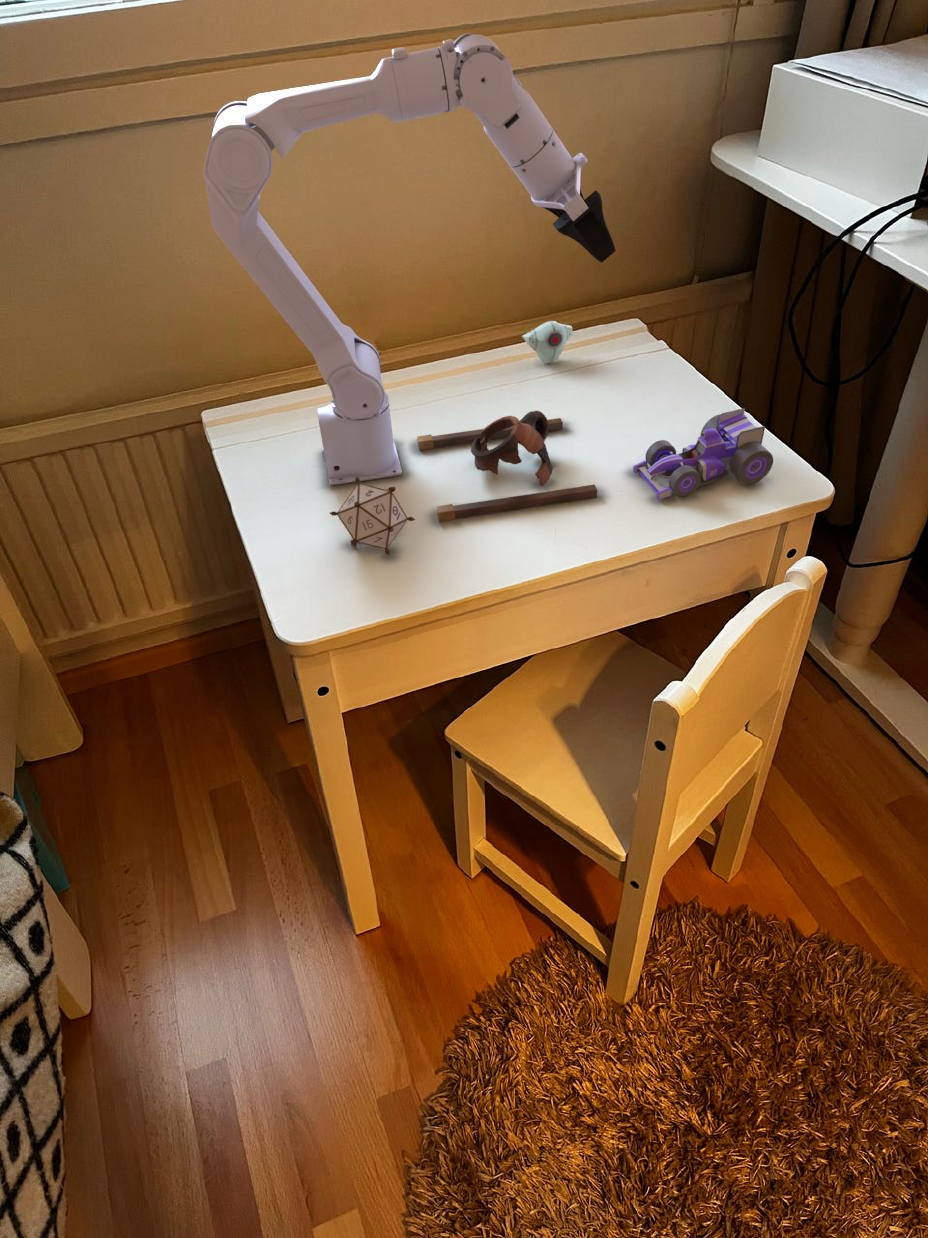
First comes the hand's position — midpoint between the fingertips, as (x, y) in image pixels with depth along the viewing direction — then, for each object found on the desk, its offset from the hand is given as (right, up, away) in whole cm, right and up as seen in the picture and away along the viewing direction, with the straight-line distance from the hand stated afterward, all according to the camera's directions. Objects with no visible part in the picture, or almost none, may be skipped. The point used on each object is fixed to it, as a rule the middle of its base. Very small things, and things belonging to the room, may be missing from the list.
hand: (598, 243), depth 105 cm
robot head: (-2, -5, +34) cm, 34 cm away
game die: (-26, -34, +4) cm, 43 cm away
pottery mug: (-8, -24, +14) cm, 29 cm away
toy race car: (+14, -25, +11) cm, 31 cm away
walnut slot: (-10, -24, +14) cm, 29 cm away
